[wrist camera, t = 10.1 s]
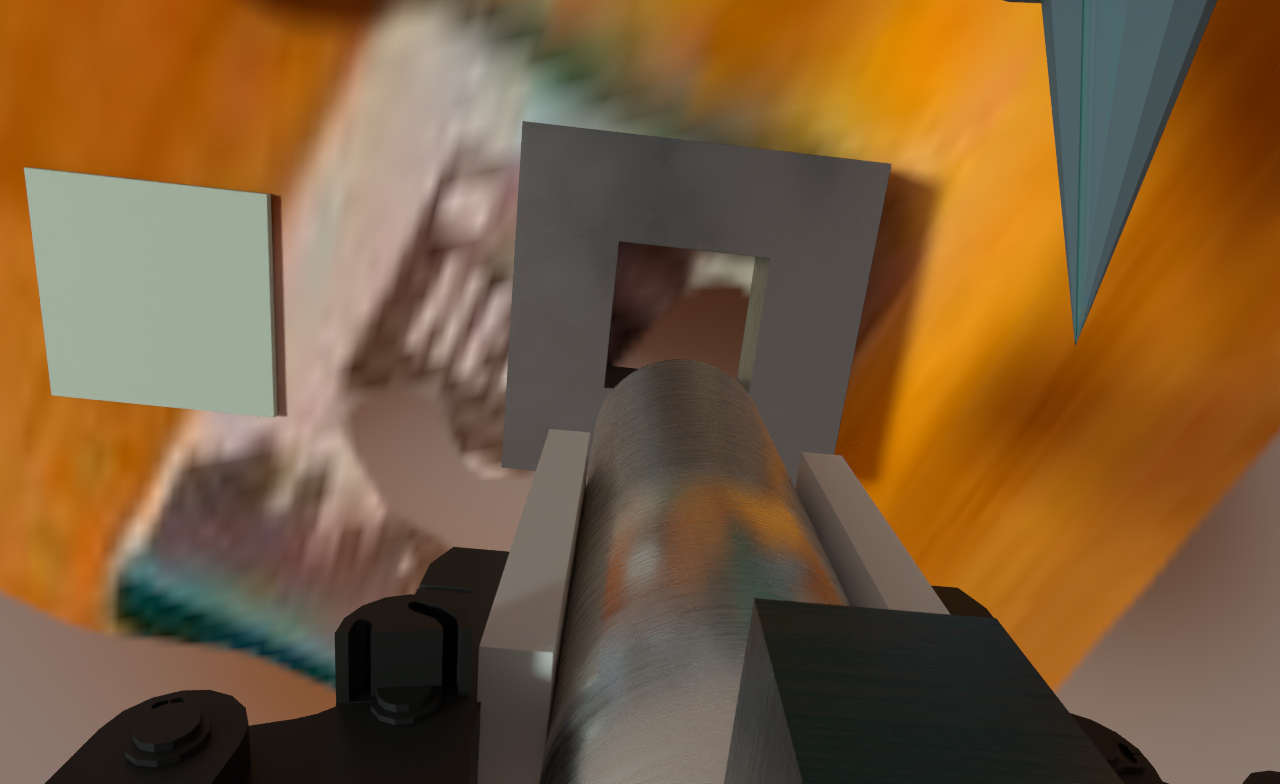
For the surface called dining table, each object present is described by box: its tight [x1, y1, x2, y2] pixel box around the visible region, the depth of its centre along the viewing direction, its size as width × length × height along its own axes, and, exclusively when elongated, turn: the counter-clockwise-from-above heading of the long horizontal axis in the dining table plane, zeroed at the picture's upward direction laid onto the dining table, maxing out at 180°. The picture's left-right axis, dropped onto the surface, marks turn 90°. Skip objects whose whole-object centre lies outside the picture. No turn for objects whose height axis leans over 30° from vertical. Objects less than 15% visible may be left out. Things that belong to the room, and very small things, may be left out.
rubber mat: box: [24, 167, 278, 417], centre depth 34 cm, size 10×10×1 cm
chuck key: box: [539, 359, 1124, 784], centre depth 11 cm, size 4×8×15 cm, turn 174°
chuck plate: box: [502, 121, 891, 487], centre depth 32 cm, size 14×14×4 cm
